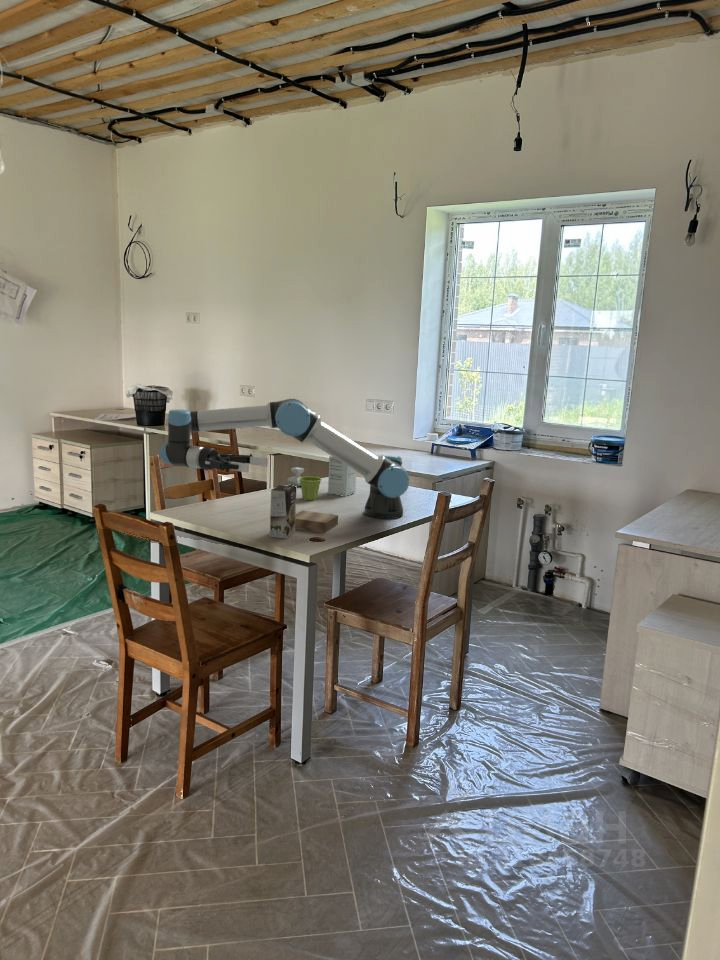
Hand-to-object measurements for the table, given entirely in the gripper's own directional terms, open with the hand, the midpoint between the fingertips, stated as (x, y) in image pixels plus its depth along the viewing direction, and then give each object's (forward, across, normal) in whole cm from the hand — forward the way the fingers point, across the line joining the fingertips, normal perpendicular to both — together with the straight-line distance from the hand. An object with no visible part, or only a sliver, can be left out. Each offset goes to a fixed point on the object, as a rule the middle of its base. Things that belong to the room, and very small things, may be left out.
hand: (258, 465), depth 225 cm
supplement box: (+5, -71, -22) cm, 74 cm away
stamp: (-18, -75, -23) cm, 80 cm away
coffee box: (+10, 0, -23) cm, 25 cm away
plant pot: (-3, -54, -23) cm, 58 cm away
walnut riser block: (+15, -15, -23) cm, 31 cm away
